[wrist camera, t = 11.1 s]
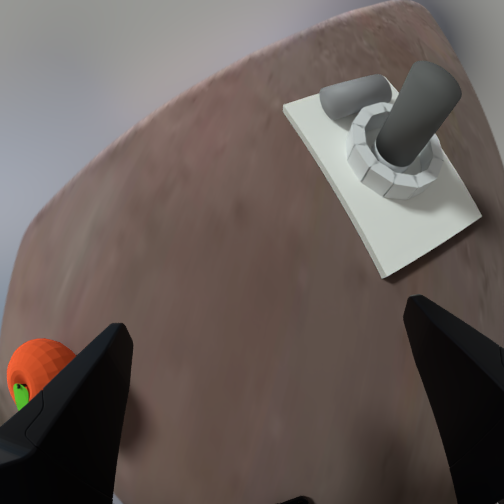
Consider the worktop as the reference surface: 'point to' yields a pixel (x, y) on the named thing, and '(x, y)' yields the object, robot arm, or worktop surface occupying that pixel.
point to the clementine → (35, 368)
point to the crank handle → (416, 115)
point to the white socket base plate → (381, 173)
